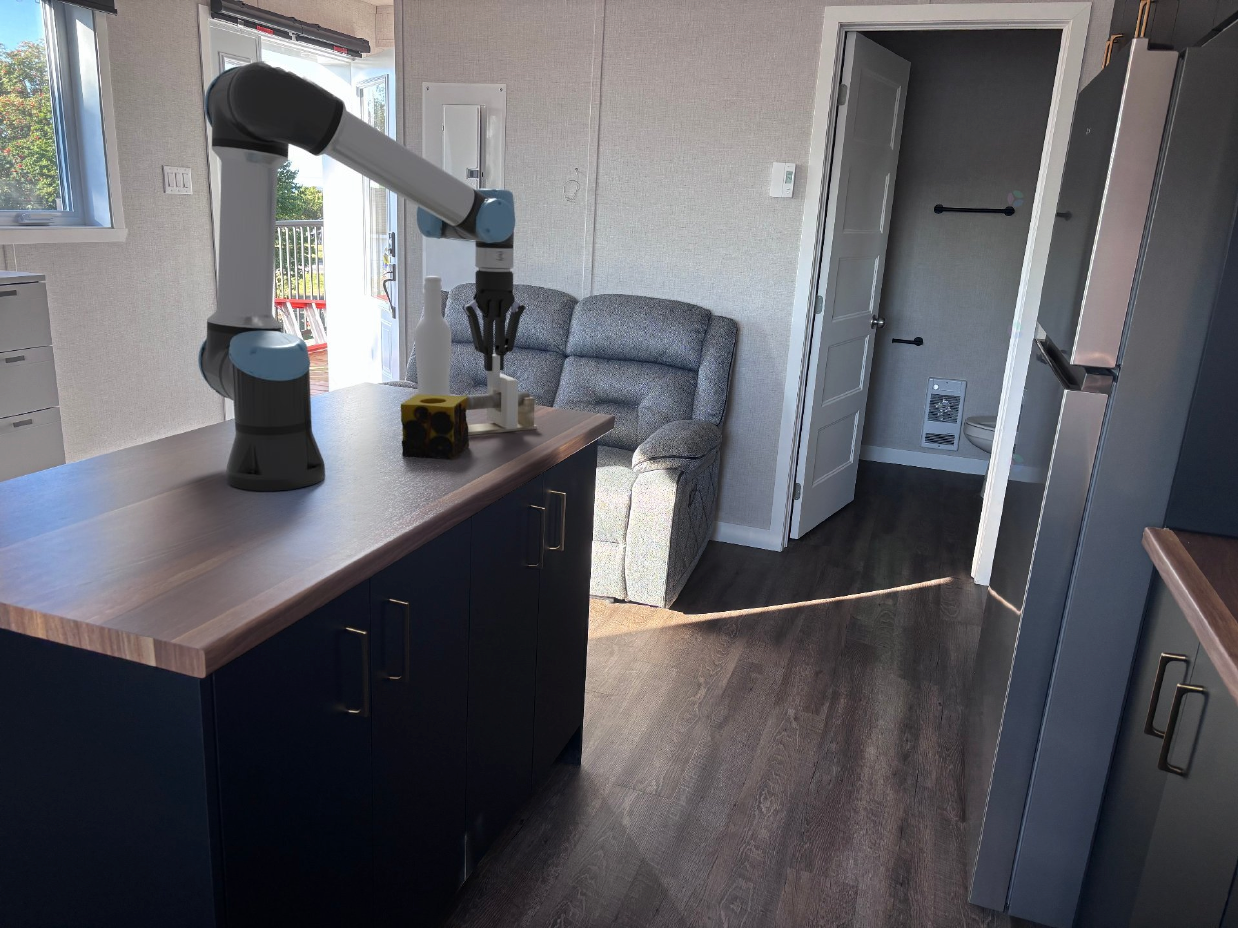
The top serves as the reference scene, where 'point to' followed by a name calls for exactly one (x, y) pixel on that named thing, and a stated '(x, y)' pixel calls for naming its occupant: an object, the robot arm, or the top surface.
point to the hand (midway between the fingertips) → (493, 386)
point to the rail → (521, 421)
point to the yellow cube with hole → (434, 426)
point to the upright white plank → (505, 403)
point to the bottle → (433, 343)
